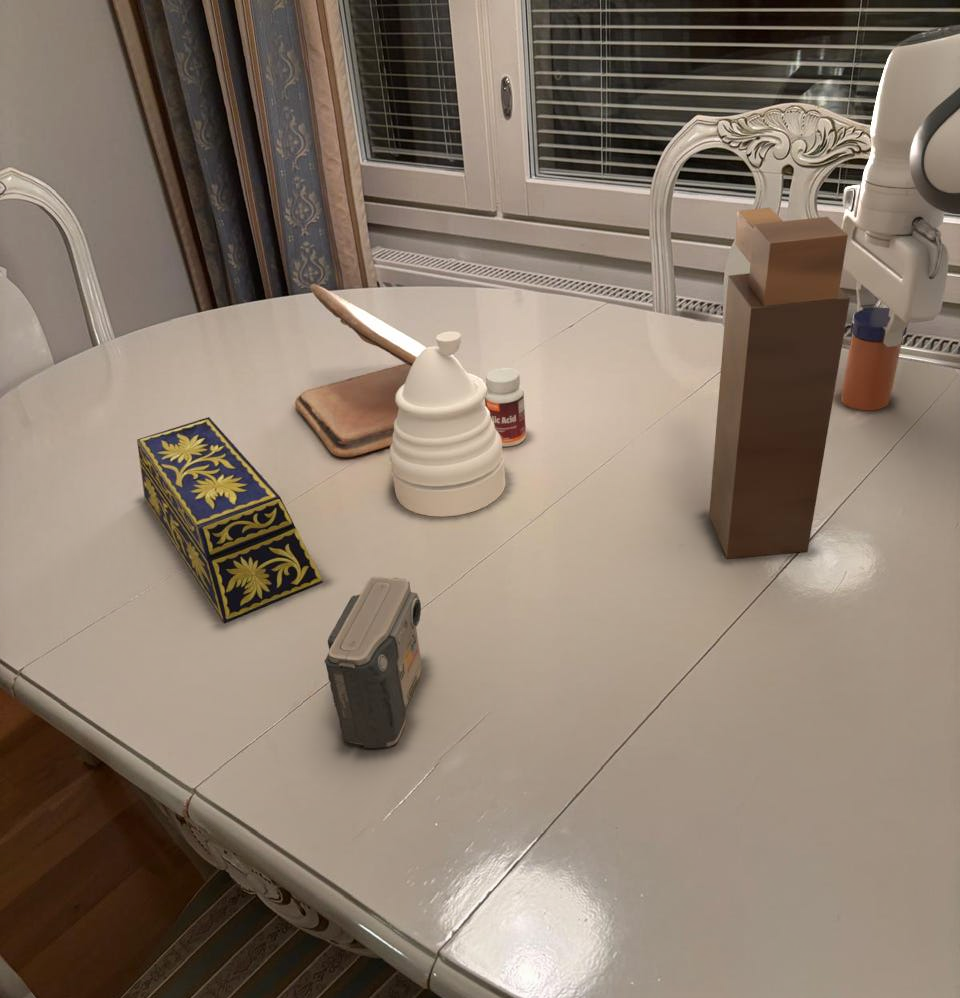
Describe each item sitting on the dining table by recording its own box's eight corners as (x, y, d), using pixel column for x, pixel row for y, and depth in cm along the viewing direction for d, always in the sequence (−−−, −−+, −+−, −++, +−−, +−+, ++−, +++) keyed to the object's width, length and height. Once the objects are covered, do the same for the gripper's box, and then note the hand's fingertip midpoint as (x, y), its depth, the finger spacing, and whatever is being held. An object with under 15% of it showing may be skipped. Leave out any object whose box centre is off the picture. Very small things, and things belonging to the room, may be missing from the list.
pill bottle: (484, 447, 113) (478, 382, 107) (493, 428, 116) (487, 365, 111) (522, 448, 112) (517, 383, 106) (529, 429, 115) (526, 366, 110)
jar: (898, 399, 112) (915, 319, 106) (871, 415, 110) (887, 334, 104) (858, 386, 116) (872, 308, 110) (831, 401, 113) (844, 322, 107)
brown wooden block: (718, 245, 87) (722, 189, 84) (782, 239, 86) (789, 182, 83) (763, 306, 74) (770, 242, 71) (838, 299, 74) (848, 234, 71)
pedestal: (708, 515, 97) (728, 275, 81) (785, 508, 96) (819, 265, 80) (726, 559, 90) (751, 307, 74) (808, 551, 90) (850, 297, 74)
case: (490, 419, 118) (479, 294, 108) (338, 465, 112) (310, 338, 102) (429, 366, 133) (414, 252, 123) (291, 404, 127) (263, 288, 117)
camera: (395, 756, 74) (374, 664, 68) (330, 746, 76) (304, 655, 69) (437, 663, 82) (423, 573, 76) (378, 656, 84) (359, 568, 78)
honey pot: (520, 464, 109) (509, 314, 97) (483, 522, 100) (467, 365, 88) (421, 454, 113) (399, 309, 101) (377, 509, 104) (348, 357, 92)
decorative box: (224, 623, 90) (198, 547, 84) (144, 498, 111) (119, 431, 105) (324, 582, 94) (305, 507, 88) (229, 469, 114) (208, 403, 109)
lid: (916, 329, 107) (919, 315, 106) (886, 346, 104) (889, 331, 103) (870, 317, 111) (872, 303, 109) (840, 333, 108) (842, 318, 107)
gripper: (976, 231, 91) (943, 364, 99) (892, 179, 106) (870, 298, 115) (913, 238, 91) (885, 371, 99) (838, 185, 106) (820, 304, 115)
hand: (877, 331), depth 107 cm, fingers closed on lid, 6 cm apart
